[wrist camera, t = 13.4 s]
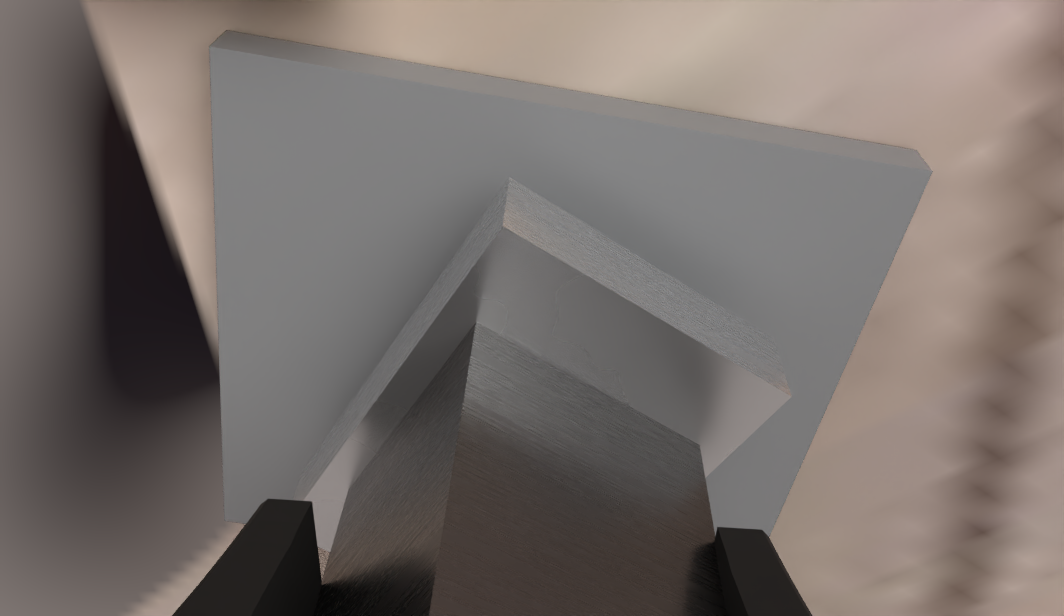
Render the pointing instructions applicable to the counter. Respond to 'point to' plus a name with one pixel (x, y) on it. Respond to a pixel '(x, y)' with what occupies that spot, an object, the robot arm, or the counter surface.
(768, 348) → the metal post with plate
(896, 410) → the counter surface
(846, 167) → the slate board
